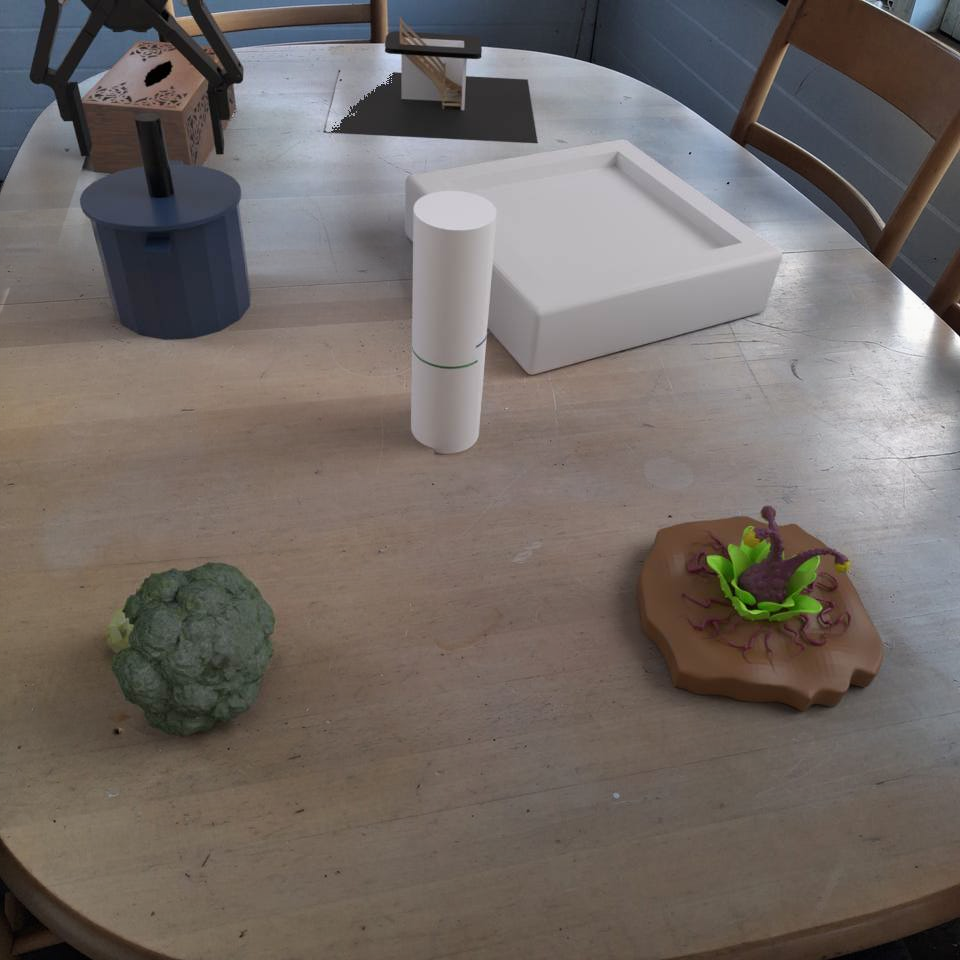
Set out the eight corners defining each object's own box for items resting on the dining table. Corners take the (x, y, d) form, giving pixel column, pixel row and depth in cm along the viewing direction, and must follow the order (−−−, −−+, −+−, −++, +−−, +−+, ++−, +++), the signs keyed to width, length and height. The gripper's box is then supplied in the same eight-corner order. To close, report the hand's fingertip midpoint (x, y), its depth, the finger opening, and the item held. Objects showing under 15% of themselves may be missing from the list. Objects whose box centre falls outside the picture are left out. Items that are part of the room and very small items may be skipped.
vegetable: (197, 554, 78) (318, 568, 69) (184, 704, 77) (305, 738, 68) (61, 551, 68) (182, 567, 59) (45, 723, 67) (165, 766, 58)
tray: (403, 235, 124) (403, 173, 118) (615, 193, 137) (625, 136, 131) (528, 379, 102) (536, 312, 96) (766, 313, 115) (787, 251, 109)
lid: (68, 239, 90) (44, 148, 85) (96, 175, 103) (76, 91, 97) (238, 235, 93) (226, 145, 87) (245, 172, 105) (234, 90, 99)
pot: (105, 360, 100) (73, 246, 90) (126, 262, 115) (100, 155, 105) (249, 353, 102) (233, 242, 93) (252, 258, 117) (238, 153, 108)
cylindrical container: (491, 425, 96) (511, 206, 79) (456, 463, 91) (469, 238, 74) (434, 401, 98) (442, 183, 81) (397, 436, 94) (397, 213, 76)
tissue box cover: (150, 103, 151) (138, 40, 144) (236, 110, 151) (228, 47, 144) (94, 171, 132) (78, 102, 125) (193, 179, 132) (182, 111, 125)
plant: (617, 531, 86) (638, 443, 78) (815, 529, 87) (855, 443, 80) (662, 717, 71) (694, 631, 64) (898, 710, 73) (957, 626, 65)
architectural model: (323, 132, 147) (317, 39, 137) (339, 69, 167) (335, -16, 157) (537, 142, 149) (547, 52, 139) (527, 79, 169) (535, -4, 159)
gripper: (-52, -76, 76) (21, 167, 91) (251, -68, 80) (274, 163, 95) (-31, -97, 81) (35, 136, 96) (252, -89, 85) (274, 133, 100)
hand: (154, 150), depth 95 cm, fingers open, 13 cm apart
